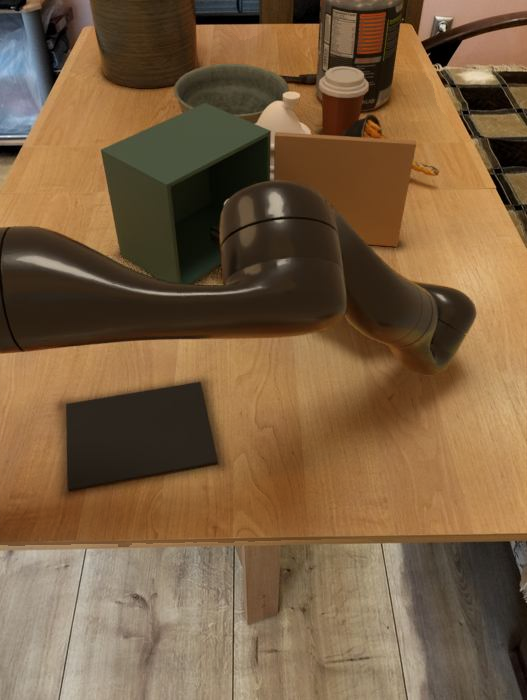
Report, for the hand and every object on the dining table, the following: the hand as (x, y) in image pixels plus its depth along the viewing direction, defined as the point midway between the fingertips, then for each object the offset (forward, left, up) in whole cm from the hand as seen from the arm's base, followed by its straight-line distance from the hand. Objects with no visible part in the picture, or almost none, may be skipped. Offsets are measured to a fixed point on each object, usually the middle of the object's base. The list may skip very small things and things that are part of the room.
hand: (228, 222), depth 90 cm
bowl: (+8, +39, -7) cm, 40 cm away
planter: (-4, +75, -7) cm, 75 cm away
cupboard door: (+18, +4, -7) cm, 20 cm away
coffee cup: (+28, +35, -7) cm, 45 cm away
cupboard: (-4, +6, -7) cm, 10 cm away
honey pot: (+11, +16, -7) cm, 21 cm away
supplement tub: (+36, +51, -7) cm, 63 cm away
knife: (+22, +64, -7) cm, 68 cm away
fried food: (+32, +21, -7) cm, 39 cm away
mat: (-16, -29, -7) cm, 34 cm away
